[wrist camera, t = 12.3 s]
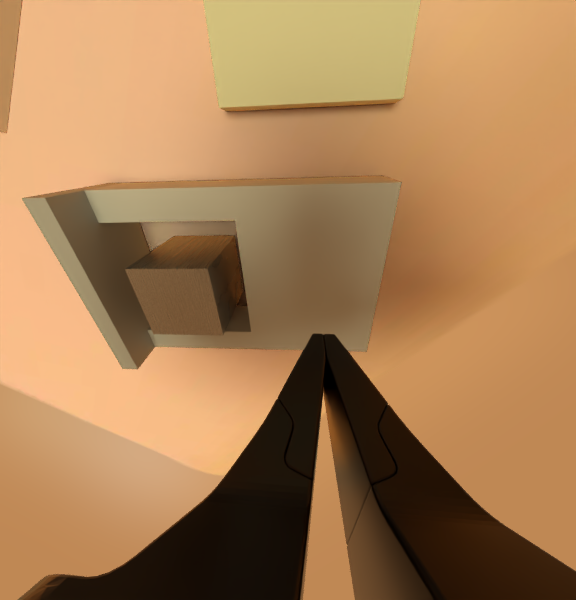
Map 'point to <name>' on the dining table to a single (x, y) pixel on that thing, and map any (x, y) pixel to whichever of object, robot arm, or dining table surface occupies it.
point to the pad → (309, 52)
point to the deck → (253, 252)
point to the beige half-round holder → (7, 54)
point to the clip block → (189, 284)
